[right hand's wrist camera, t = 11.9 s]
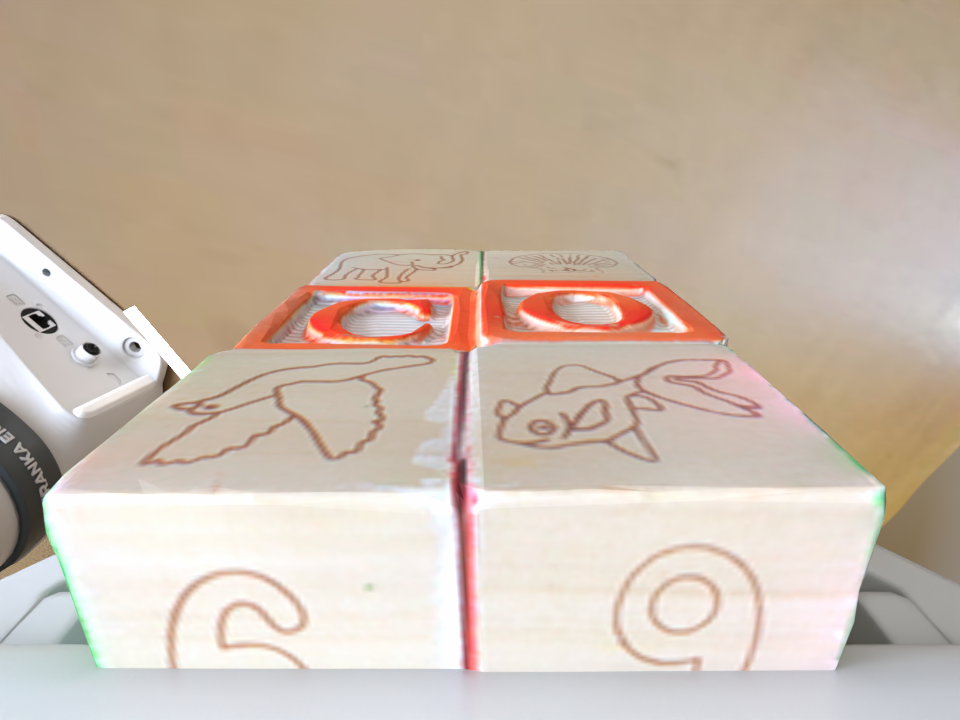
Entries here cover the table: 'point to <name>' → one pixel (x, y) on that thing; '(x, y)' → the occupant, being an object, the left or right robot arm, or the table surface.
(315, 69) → the table surface
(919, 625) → the right robot arm
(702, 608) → the stack of blocks
